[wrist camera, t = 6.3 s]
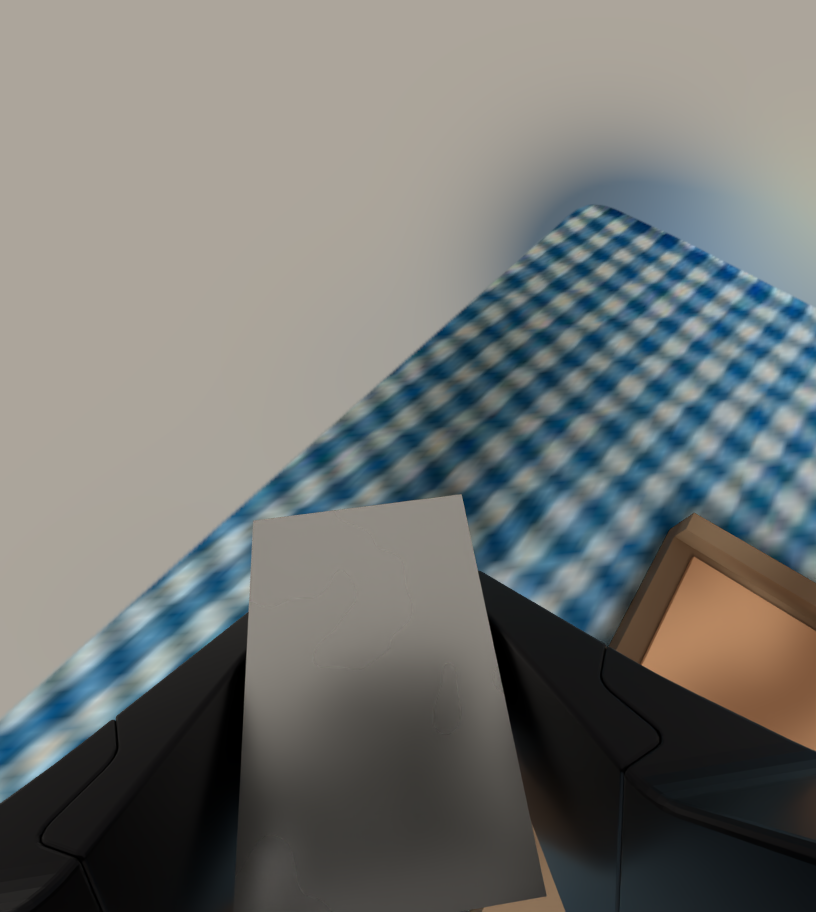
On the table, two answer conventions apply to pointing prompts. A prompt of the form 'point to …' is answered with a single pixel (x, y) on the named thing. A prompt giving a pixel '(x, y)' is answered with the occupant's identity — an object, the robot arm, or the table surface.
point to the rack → (719, 640)
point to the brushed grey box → (376, 722)
